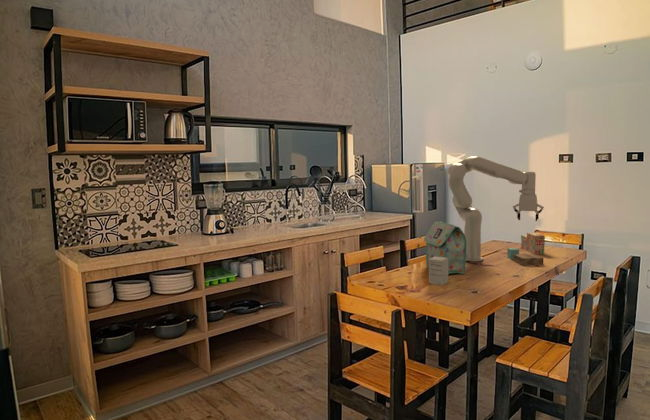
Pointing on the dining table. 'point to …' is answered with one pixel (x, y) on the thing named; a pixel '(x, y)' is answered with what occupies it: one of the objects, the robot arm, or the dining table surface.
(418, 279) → the dining table surface
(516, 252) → the teal block
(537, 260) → the walnut block
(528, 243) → the stack of blocks
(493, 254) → the dining table surface
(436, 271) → the supplement box
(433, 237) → the lunch bag
